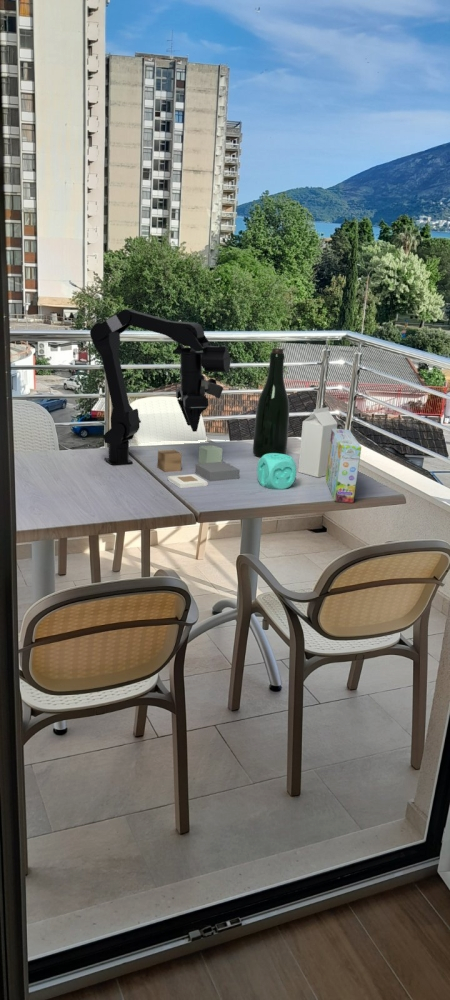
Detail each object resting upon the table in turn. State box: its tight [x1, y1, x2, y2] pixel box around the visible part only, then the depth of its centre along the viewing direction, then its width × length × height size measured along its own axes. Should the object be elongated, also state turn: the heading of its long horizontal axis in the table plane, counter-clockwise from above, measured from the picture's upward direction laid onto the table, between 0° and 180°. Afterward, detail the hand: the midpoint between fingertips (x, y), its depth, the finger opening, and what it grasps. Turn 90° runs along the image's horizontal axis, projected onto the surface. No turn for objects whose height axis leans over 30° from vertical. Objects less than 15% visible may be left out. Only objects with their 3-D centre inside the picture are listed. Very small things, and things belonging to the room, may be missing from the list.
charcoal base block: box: [194, 461, 241, 482], centre depth 208 cm, size 9×9×3 cm
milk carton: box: [297, 406, 338, 478], centre depth 214 cm, size 7×7×19 cm
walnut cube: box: [156, 449, 183, 473], centre depth 211 cm, size 5×5×5 cm
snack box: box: [325, 428, 362, 504], centre depth 198 cm, size 21×6×15 cm, turn 179°
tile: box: [167, 473, 209, 489], centre depth 199 cm, size 8×8×1 cm
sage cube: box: [198, 444, 223, 464], centre depth 219 cm, size 5×5×5 cm
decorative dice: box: [256, 453, 297, 490], centre depth 201 cm, size 8×8×8 cm
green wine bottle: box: [252, 347, 290, 458], centre depth 229 cm, size 10×10×33 cm
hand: (192, 428), depth 206 cm, fingers open, 9 cm apart
